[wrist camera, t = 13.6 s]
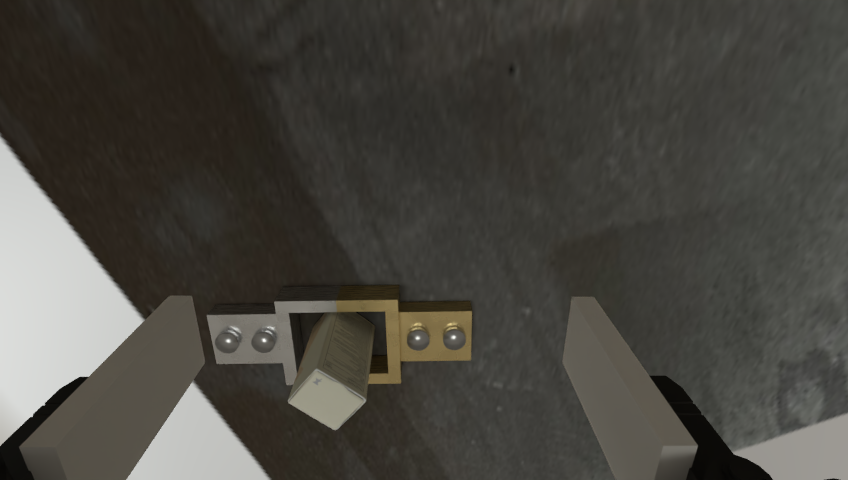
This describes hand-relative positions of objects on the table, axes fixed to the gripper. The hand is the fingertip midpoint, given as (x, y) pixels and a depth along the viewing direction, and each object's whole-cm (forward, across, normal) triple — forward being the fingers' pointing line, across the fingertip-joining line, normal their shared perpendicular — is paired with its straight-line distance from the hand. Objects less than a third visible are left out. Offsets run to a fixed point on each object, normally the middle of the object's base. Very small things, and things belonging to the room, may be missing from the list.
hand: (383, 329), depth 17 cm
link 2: (+27, 0, -17) cm, 32 cm away
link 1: (+27, -13, -17) cm, 35 cm away
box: (+27, -6, -17) cm, 33 cm away
